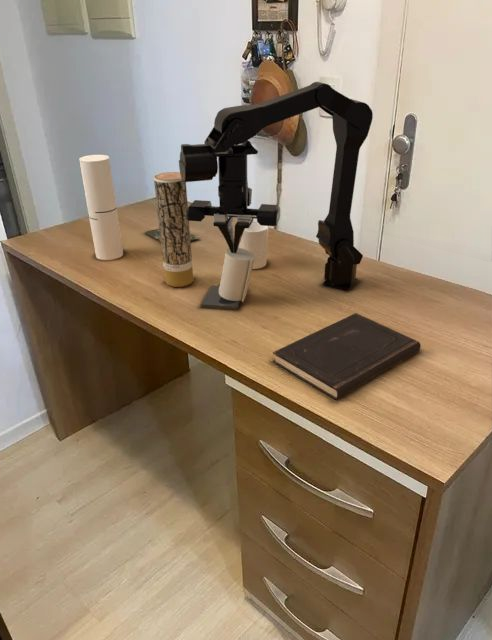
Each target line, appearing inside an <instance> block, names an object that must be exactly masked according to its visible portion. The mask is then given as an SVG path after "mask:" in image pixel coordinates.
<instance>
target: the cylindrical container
mask: <svg viewBox="0 0 492 640" xmlns="http://www.w3.org/2000/svg"><path fill="white" fill-rule="evenodd" d="M78 159H79V160H78V161H79V166H80V172H81V177H82V184H83V189H84V195H85V203H86V207H87V212H88V219H89V225H90V230H91V236H92V241H93V246H94V252H95V258H96V259H98V260H102V261H111V260H117V259H119V258H121V257H122V256H124V250H123V243H122V235H121V229H120V223H119V221H120V220H119V216H118V215H119V213H118V208H117V201H116V195H115V187H114V181H113V173H112V167H111V160H110V156H109V155H107V154H89V155H84V156H81V157H79V158H78Z"/></svg>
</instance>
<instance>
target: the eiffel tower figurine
mask: <svg viewBox="0 0 492 640" xmlns="http://www.w3.org/2000/svg"><path fill="white" fill-rule="evenodd" d="M144 233H146V234H147V235H148V236H150V237H152V238H153V239H156V240H157V241H159V242H161V239H160V230H159V228H157V229H151V230H146V231H145V230H144ZM196 239H198V237H197V236H195V235H192V234H190V241H194V240H196Z"/></svg>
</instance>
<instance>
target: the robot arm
mask: <svg viewBox="0 0 492 640" xmlns="http://www.w3.org/2000/svg"><path fill="white" fill-rule="evenodd" d="M317 108H319V109H320V110H322V111H323V112H325V113H326V114H327V115H329V116H330V117H331V118H332V133H333V136H334V140H335V145H336V149H335V158H334V166H333V173H332V181H331V182H332V183H331V190H330V191H331V192H330V200H329V209H328V214H327V216H326V217H325V218H324V220H322V219H321V220H320V219H319V220H318V221H317V227H318V228H317V232H316V235H315V237H316V239H318V244H319V246H320V247H321V248H322V249H323V250H324V252H325V254H326V255H328V256H329V257H327V260H326V263H325V264H324V275H323V277H324V278H323V280H324V281H323V282H322V285H323V286H326V287H329V288H335V289H338V290H344V291H349V290H351V289H352V288H353V287H354V285H356V284H357V283H358V281H359V278H357V268H358V265H360V264H361V262H362V260H363V256H364V254H362V253H361V252H360V251H359V249H357V247H356V246H355V244H354V243H355V235H354V233H355V232H354V228H353V224H352V219H351V213H352V205H353V198H354V192H355V184H356V179H357V178H356V177H357V171H358V163H359V156H360V149H361V147H362V146H363V144H364V142H365V141H366V139H367V138H368V135H369V132H370V129H371V125H372V122H373V115H374V113H373V110H372V108H371V107H370V105H369V104H367V102H364V101H360V100H356V99H353V98H349V97H348V96H346V95H344V94H343V93H341V92H339V91H337V90H335V89H334V88H333V87H332V86H331V85H330V84H328V83H325V82H321V81H314V82H312V83H311V84H309V85H307V86H304V87H301V88H298V89H296V90H293V91H290V92H287V93H284V94H282V95H279V96H276V97H274V98H271V99H268V100H265V101H262V102H259V103H255V104H244V105H242V104H241V105H235V106H229V107H224V108H222V109H220V110H219V111H218V112H217V114H216V116H215V118H214V123H213V125H214V126H213V127H212V129H211V131H210V132H209V134H208V135H207V136H206V138H205V140H204V143H200V144H197V143H196V144H189V143H181V144H180V151H179V152H180V153H179V160H178V168H179V169H178V170H179V173H180V175H181V179H182V181H183V182H186V183H192V182H193V183H194V182H204V181H212V180H213V179H214V178H216V177H217V175H218V186H217V191H218V193H217V194H218V195H217V196H218V201H219V203H218V204H219V205H218V206H216V205H215V206H212V201H211V200H199V199H195V200H193V201H192V203H190V205H188V208H187V211H186V214H187V220H188V221H189V222H202V221H203V220H204V219H205V218H206V217H207V216H209V217H213V218H214V219H213V221H214V222H213V223H212V225H213V226H214V227H216V228H218V230H219V231H220V233H221V235H222V236H223V238H224V240H225V242H226V244H227V246H228V249H230V251H231V253H233V252H234V253H236V252H237V250H238V247H239V244H240V241H241V237H242V234H243V232H244V230H245V228H249V227H250V226H251V224H252V222H253V221H254V220H255V219H256V221H257V222H258V223H259V224H260V225H262V226H269V227H277V225H278V224H279V221H280V219H281V208H280V206H279V205H278V204H269V203H268V204H267V203H261V204H260V206H259V208H248V207H250V206H251V205H252V195H253V188H251V187H249V180H248V156H249V155H250V156H251V155H252V156H253V155H258V153H259V151H258V149H256V148H255V147H254V146H253V144H252V143H251V141H250V140H251V139H252V138H254V137H256V136H257V135H258V134H259V133H260V132H262V130H264V129H265V128H267V127H269V126H273V125H275V124H277V123H281V122H282V121H285V120H288V119H291V118H294V117H296V116H299V115H301V114H304V113H307V112H309V111H312V110H315V109H317ZM233 218H236V219H237V221H236V223H235V225H234V228H233V221H234V219H233Z"/></svg>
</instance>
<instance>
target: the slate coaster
mask: <svg viewBox="0 0 492 640" xmlns="http://www.w3.org/2000/svg"><path fill="white" fill-rule="evenodd" d="M219 286H220V285H211V286H210V288H209V290H208V291H207V293H206V294H205V296H204V298H203V300H202V301H201V304H200V308H203V309H214V310H215V309H216V310H227V311H229V310H230V311H237V310H238V308H239V305H240V303H241V302H242V300H240V301H230V300H227V299H224V298H223V297H221V296H220V295H219Z"/></svg>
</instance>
